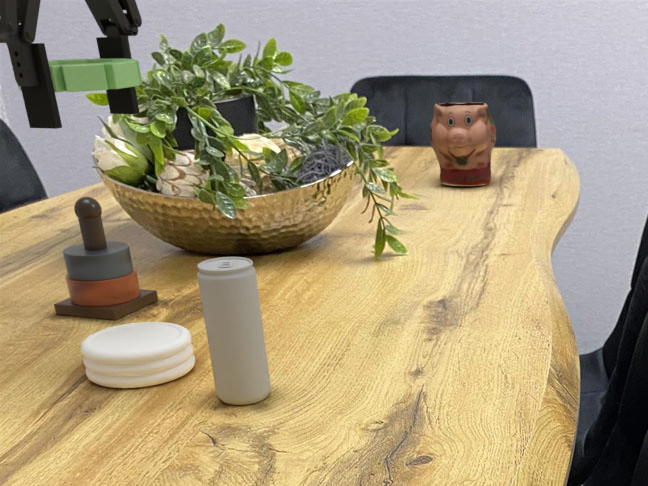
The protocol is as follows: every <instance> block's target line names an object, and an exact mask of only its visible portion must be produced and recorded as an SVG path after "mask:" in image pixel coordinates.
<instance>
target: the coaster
mask: <svg viewBox="0 0 648 486" xmlns="http://www.w3.org/2000/svg"><path fill="white" fill-rule="evenodd" d="M80 353H81V354H82V357H83V358H82V363H83V365H84V367H85V375H86V377H87V378H88V380H89V381H90V382H92V383H94V384H95V385H98V386H101V387H106V388H112V389H113V388H114V389H135V388H145V387H152V386H158V385H162V384H166V383H168V382H171V381H174V380H177V379H179V378H181V377H183V376H185V375H187V374H188V373H189V372H191V370H192V369H193V368H194V367H195V363H196V357H195V355H194V346H193V344H192V334H191V332H190V331H189V330H188V328H186V327H185V326H182V325H180V324H178V323H173V322H166V321H139V322H131V323H130V322H129V323H123V324H118V325H113V326H109V327H105V328H103V329H100V330H97V331H94V332H93V333H91V334H89V335H88V336H86V337H85V338H84V339H83V340H82V342H81V343H80Z"/></svg>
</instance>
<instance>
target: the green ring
mask: <svg viewBox="0 0 648 486" xmlns="http://www.w3.org/2000/svg"><path fill="white" fill-rule="evenodd" d="M48 63H49V68H50V73H51V78H52V82H53V87H54V92H55V93H62V92H67V93H77V92H95V91H97V92H98V91H106V90H108V89H121V88H128V87H135V88H136V87H140V86H143V79H142V73H141V68H140V62H139V60H138V59H135V58H132V59H127V58H100V57H97V58H69V59H51V60H48ZM17 88H18V89H19V90H20V91H21V92H22V90H21V86H18V85H17Z"/></svg>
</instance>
